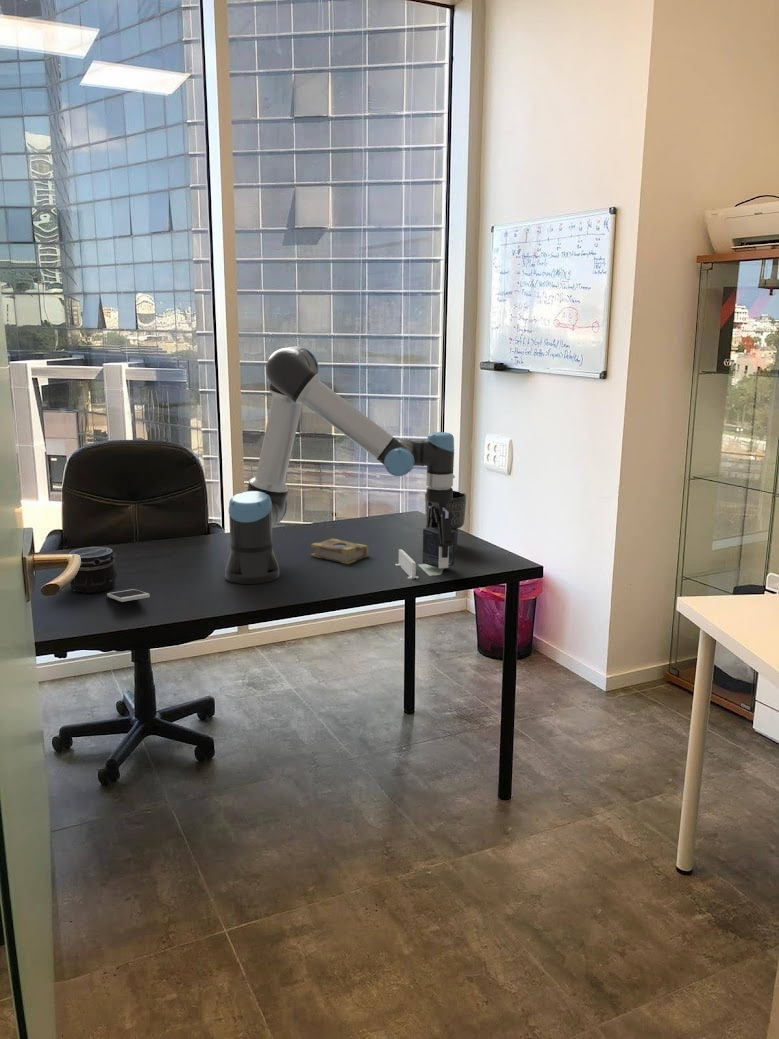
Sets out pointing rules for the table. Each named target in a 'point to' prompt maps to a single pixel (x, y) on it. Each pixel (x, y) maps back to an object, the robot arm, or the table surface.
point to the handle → (407, 564)
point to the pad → (431, 569)
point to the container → (94, 570)
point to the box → (435, 547)
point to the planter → (454, 512)
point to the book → (340, 551)
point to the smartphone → (128, 595)
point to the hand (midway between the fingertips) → (438, 562)
